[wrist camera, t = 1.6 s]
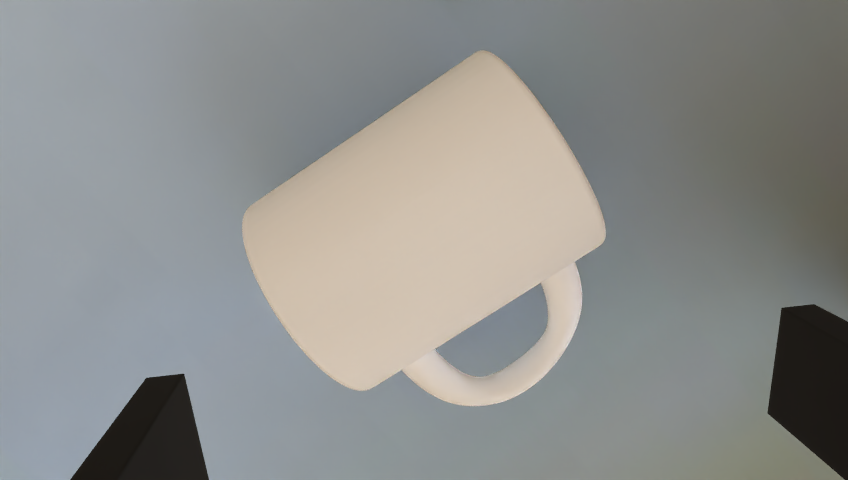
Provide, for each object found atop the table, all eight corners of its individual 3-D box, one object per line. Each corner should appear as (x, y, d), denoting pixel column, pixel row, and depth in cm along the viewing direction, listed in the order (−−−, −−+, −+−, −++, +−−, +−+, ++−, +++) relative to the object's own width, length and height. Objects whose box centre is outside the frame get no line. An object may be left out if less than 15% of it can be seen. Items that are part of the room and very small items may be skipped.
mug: (265, 188, 23) (209, 244, 15) (465, 51, 22) (512, 38, 14) (421, 390, 26) (439, 519, 19) (599, 280, 25) (695, 368, 18)
